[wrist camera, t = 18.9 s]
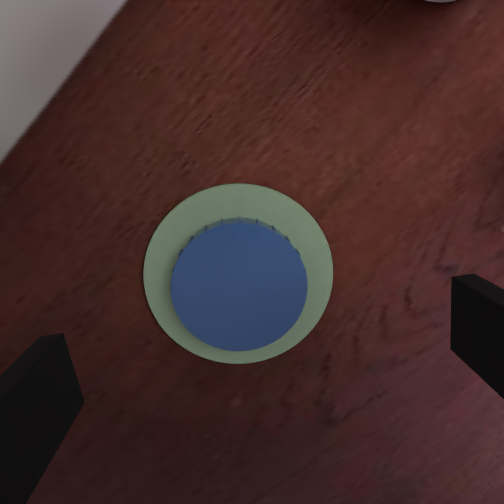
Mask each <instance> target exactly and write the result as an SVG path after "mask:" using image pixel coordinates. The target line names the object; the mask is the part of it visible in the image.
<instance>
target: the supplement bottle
mask: <svg viewBox="0 0 504 504" xmlns="http://www.w3.org/2000/svg"><path fill="white" fill-rule="evenodd" d="M426 1H431V2H450V1H455V0H426Z"/></svg>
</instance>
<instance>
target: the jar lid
mask: <svg viewBox="0 0 504 504" xmlns="http://www.w3.org/2000/svg"><path fill="white" fill-rule="evenodd" d="M178 256H179V258H178V260H177V262H176V264H175V266H174V268H173V269H172V272H173V273H172V279H171V287H170V289H171V297H172V302H173V306H174V309H175V311H176V313H177V316H178V317H179V319H180V321H181V322H182V324H183V325H184V326H185V327H186V329H187V330H188V331H189V332H190V333H191V334H192V335H194V336H195V337H196V338H198V339H199V340H201V341H202V342H204V343H206V344H208V345H210V346H213V347H215V348H219V349H222V350H228V351H249V350H254V349H258V348H261V347H265V346H267V345H269V344H271V343H273V342H275V341H276V340H278V339H280V338H281V337H282V336H283V335H285V334H286V333H287V332H288V331H289V330H290V329H291V328H292V327H293V325H294V324H295V323H296V322H297V320H298V318H299V317H300V315H301V313H302V310H303V308H304V306H305V302H306V298H307V290H308V284H307V275H306V269H305V267H304V264H303V262H302V260H301V258H300V253H299V252H298V250H297V249H295V248H294V247H293V245H292V244H291V242H290V240H289V238H288V237H287V236H284V235H283V234H282V233H281V232H280V231H279V230H277V229H276V228H275V227H274V226H273V225H272V226H271V225H269V224H267V223H264V222H261V221H259V220H258V219H256V220H255V219H250V218H241V216H239V218H229V219H224V220H223V218H222V219H221V220H220V221H217V222H214V223H212V224H210V225H208V226H207V225H205V226H204V228H203V229H201V230H200V231H198V232H197V233H196V234H195V235H194V236H191V237H190V239H189V241H188V242H187V244H186V245H185V247H184V248H183V249H181V251H180V252H179V254H178Z"/></svg>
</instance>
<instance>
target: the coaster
mask: <svg viewBox="0 0 504 504" xmlns="http://www.w3.org/2000/svg"><path fill="white" fill-rule="evenodd" d="M239 216H241V218H250V219H255V220H256V219H258V220H259V221H261V222H264V223H267V224H269V225H271V226H272V225H273V226H274V227H275V228H276V229H277V230H279V231H280V232H281V233H282V234H283V235H284V236H287V237H288V238H289V240H290V242H291V244H292V245H293V247H294V248H295V249H297V250H298V252H299V253H300V258H301V260H302V262H303V264H304V267H305V269H306V275H307V284H308V290H307V298H306V302H305V306H304V308H303V310H302V313H301V315H300V317H299V318H298V320H297V322H296V323H295V324H294V325H293V327H292V328H291V329H290V330H289V331H288V332H287V333H286V334H285V335H283V336H282V337H281V338H280V339H278V340H276V341H275V342H273V343H271V344H269V345H267V346H265V347H261V348H258V349H254V350H249V351H228V350H222V349H219V348H215V347H213V346H210V345H208V344H206V343H204V342H202V341H201V340H199V339H198V338H196V337H195V336H194V335H192V334H191V333H190V332H189V331H188V330H187V329H186V327H185V326H184V325H183V324H182V322H181V321H180V319H179V317H178V316H177V313H176V311H175V309H174V306H173V302H172V297H171V289H170V287H171V279H172V273H173V272H172V269H173V268H174V266H175V264H176V262H177V260H178V258H179V256H178V254H179V252H180V251H181V249H183V248H184V247H185V245H186V244H187V242H188V241H189V239H190V237H191V236H194V235H195V234H196V233H197V232H198V231H200V230H201V229H203V228H204V226H205V225H207V226H208V225H210V224H212V223H214V222H217V221H220V220H221V219H222V218H223V220H224V219H229V218H239ZM143 277H144V288H145V294H146V297H147V300H148V304H149V306H150V308H151V311H152V313H153V315H154V317H155V318H156V320H157V321H158V323H159V325H160V326H161V327H162V328H163V330H164V331H165V332H166V333H167V334H168V335H169V336H170V337H171V338H172V339H173V340H174V341H175V342H176V343H178V344H179V345H181V346H182V347H183V348H185V349H186V350H188V351H190V352H192V353H194V354H195V355H198V356H200V357H203V358H206V359H209V360H213V361H216V362H222V363H230V364H243V363H253V362H258V361H263V360H266V359H269V358H272V357H275V356H277V355H279V354H281V353H283V352H285V351H287V350H289V349H290V348H292V347H293V346H295V345H296V344H297V343H299V342H300V341H301V340H302V339H304V338H305V337H306V336H307V334H308V333H309V332H310V331H311V330H312V329H313V328H314V326H315V325H316V324H317V322H318V321H319V319H320V318H321V316H322V314H323V312H324V310H325V308H326V306H327V303H328V301H329V297H330V293H331V290H332V282H333V263H332V257H331V252H330V249H329V246H328V242H327V240H326V238H325V236H324V234H323V232H322V230H321V229H320V227H319V225H318V224H317V222H316V221H315V220H314V219H313V217H312V216H311V215H310V214H309V213H308V212H307V211H306V210H305V209H304V208H303V207H302V206H301V205H299V204H298V203H297V202H295V201H294V200H292V199H291V198H289V197H288V196H286V195H284V194H282V193H280V192H278V191H276V190H273V189H270V188H267V187H264V186H260V185H254V184H245V183H232V184H223V185H218V186H214V187H210V188H207V189H205V190H202V191H199V192H197V193H195V194H193V195H192V196H190V197H188V198H186V199H185V200H184V201H182V202H181V203H179V204H178V205H177V206H176V207H175V208H174V209H173V210H171V211H170V212H169V213H168V214H167V215H166V217H165V218H164V219H163V220H162V222H161V223H160V224H159V226H158V227H157V229H156V231H155V232H154V234H153V236H152V238H151V241H150V243H149V245H148V248H147V252H146V256H145V261H144V269H143Z"/></svg>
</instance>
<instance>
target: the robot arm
mask: <svg viewBox="0 0 504 504" xmlns="http://www.w3.org/2000/svg"><path fill="white" fill-rule="evenodd" d="M450 349H451V350H452V351H453V352H454V353H455V354H456V355H457V356H458V357H459V358H461V359H462V360H463V361H464V362H465V363H466V364H467V365H468V366H469V367H470V368H471V369H472V370H473V371H474V372H475V373H477V374H478V375H479V376H480V377H481V378H482V379H483V380H484V381H485V382H486V383H487V384H488V385H489V386H490V387H491V388H493V389H494V390H495V391H496V392H497V393H498V394H499V395H500V396H501V397H502V398H503V399H504V289H502V288H500V287H498V286H496V285H494V284H493V283H491V282H489V281H487V280H485V279H483V278H481V277H479V276H478V275H476V274H469V275H462V276H455V277H452V288H451V346H450ZM84 403H85V402H84V399H83V395H82V392H81V389H80V386H79V383H78V379H77V376H76V373H75V370H74V366H73V363H72V360H71V357H70V354H69V350H68V347H67V344H66V341H65V338H64V334H63V333H62V334H55V335H48V336H41V337H39V338H38V339H37V340H36V341H35V342H34V343H33V344H32V345H31V346H30V347H29V348H28V349H27V350H26V351H25V352H24V353H23V354H22V355H21V356H20V357H19V358H18V359H17V360H16V361H15V362H14V363H13V364H12V365H11V366H10V367H9V368H8V369H7V370H6V371H5V372H4V373H3V374H2V375H1V376H0V504H26V503H27V501H28V499H29V498H30V496H31V494H32V492H33V491H34V489H35V487H36V486H37V484H38V482H39V480H40V479H41V477H42V475H43V474H44V472H45V470H46V468H47V467H48V465H49V463H50V461H51V460H52V458H53V456H54V455H55V453H56V451H57V449H58V448H59V446H60V444H61V443H62V441H63V439H64V437H65V436H66V434H67V432H68V431H69V429H70V427H71V425H72V424H73V422H74V420H75V419H76V417H77V415H78V413H79V412H80V410H81V408H82V406H83V405H84Z"/></svg>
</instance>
